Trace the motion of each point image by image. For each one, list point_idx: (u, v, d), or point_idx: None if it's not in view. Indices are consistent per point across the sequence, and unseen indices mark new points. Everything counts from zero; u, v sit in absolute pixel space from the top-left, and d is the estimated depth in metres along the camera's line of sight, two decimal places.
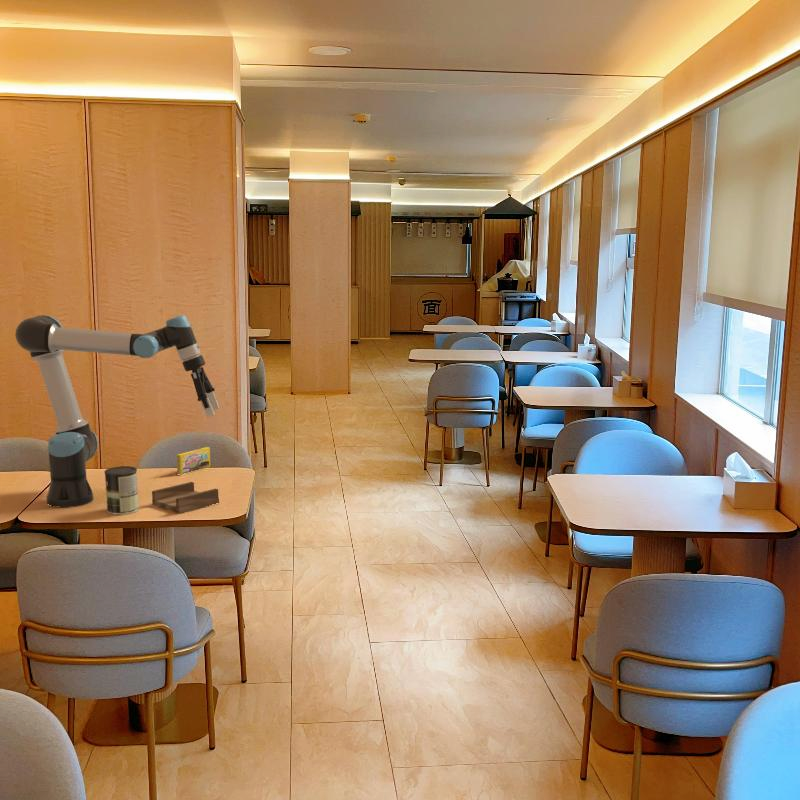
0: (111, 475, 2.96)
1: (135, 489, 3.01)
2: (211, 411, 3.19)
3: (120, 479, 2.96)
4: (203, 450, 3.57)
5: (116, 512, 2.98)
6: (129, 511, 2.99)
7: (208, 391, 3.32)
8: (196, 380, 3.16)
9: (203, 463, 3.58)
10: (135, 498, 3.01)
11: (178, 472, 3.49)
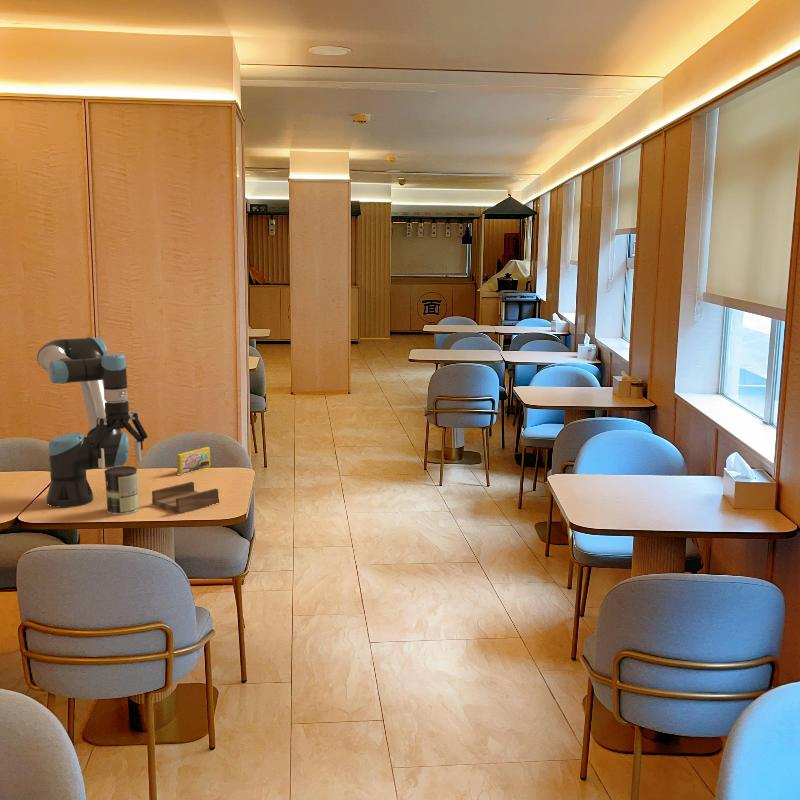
0: (111, 475, 2.96)
1: (135, 489, 3.01)
2: (101, 463, 2.94)
3: (120, 479, 2.96)
4: (203, 450, 3.57)
5: (116, 512, 2.98)
6: (129, 511, 2.99)
7: (137, 439, 3.04)
8: (97, 427, 2.92)
9: (203, 462, 3.58)
10: (135, 498, 3.01)
11: (178, 472, 3.49)
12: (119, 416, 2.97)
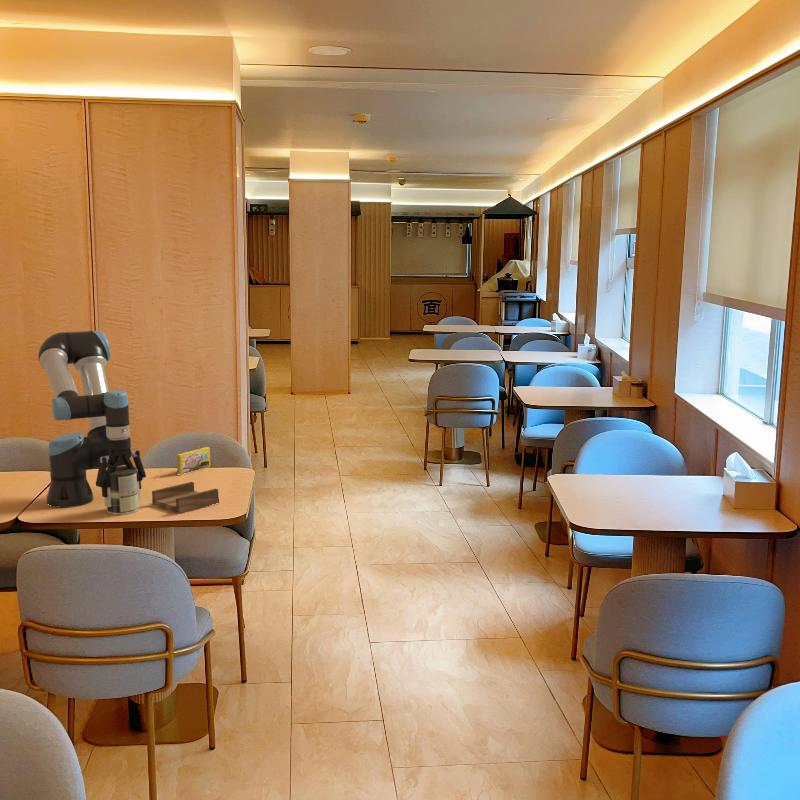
0: (111, 474, 2.96)
1: (135, 489, 3.01)
2: (108, 502, 2.97)
3: (120, 479, 2.96)
4: (203, 450, 3.57)
5: (116, 512, 2.98)
6: (129, 511, 2.99)
7: None
8: (101, 465, 2.95)
9: (203, 462, 3.58)
10: (135, 498, 3.01)
11: (178, 472, 3.49)
12: (121, 453, 2.99)
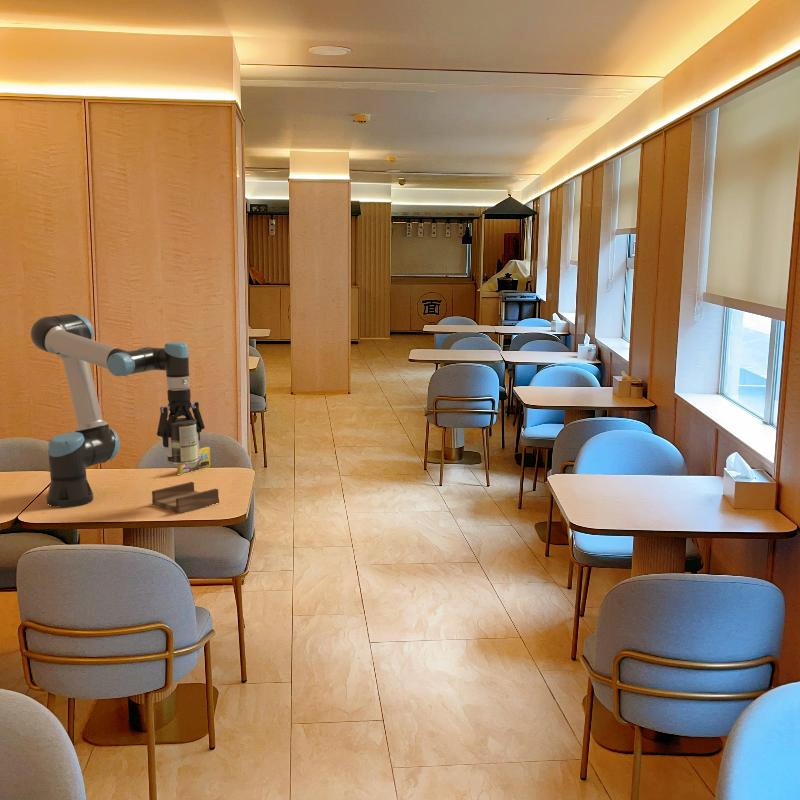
0: (172, 424, 2.99)
1: (195, 439, 3.04)
2: (169, 452, 3.01)
3: (180, 429, 3.00)
4: (203, 450, 3.57)
5: (177, 462, 3.01)
6: (189, 461, 3.03)
7: None
8: (162, 415, 2.99)
9: (203, 462, 3.58)
10: (195, 448, 3.04)
11: (178, 472, 3.49)
12: (181, 403, 3.03)
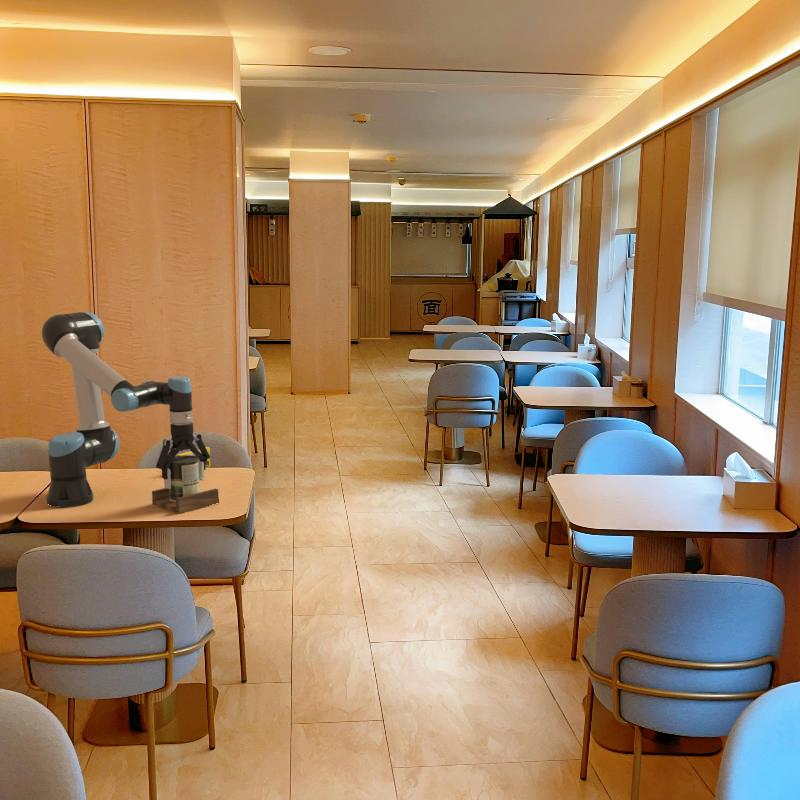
0: (175, 463, 3.02)
1: (197, 477, 3.07)
2: (168, 483, 3.02)
3: (183, 468, 3.02)
4: None
5: None
6: None
7: (200, 459, 3.12)
8: (164, 448, 3.01)
9: None
10: (197, 486, 3.07)
11: None
12: (184, 437, 3.05)
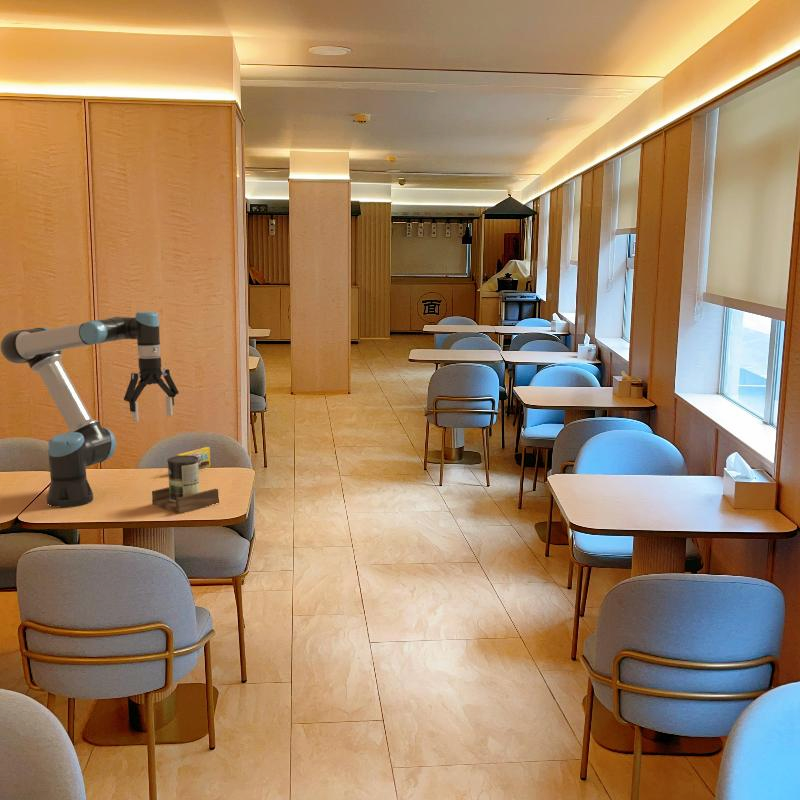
0: (175, 463, 3.02)
1: (197, 477, 3.07)
2: (135, 416, 3.06)
3: (183, 468, 3.02)
4: (203, 450, 3.57)
5: None
6: None
7: (169, 395, 3.16)
8: (132, 381, 3.05)
9: (203, 462, 3.58)
10: (197, 486, 3.07)
11: None
12: (152, 371, 3.09)
